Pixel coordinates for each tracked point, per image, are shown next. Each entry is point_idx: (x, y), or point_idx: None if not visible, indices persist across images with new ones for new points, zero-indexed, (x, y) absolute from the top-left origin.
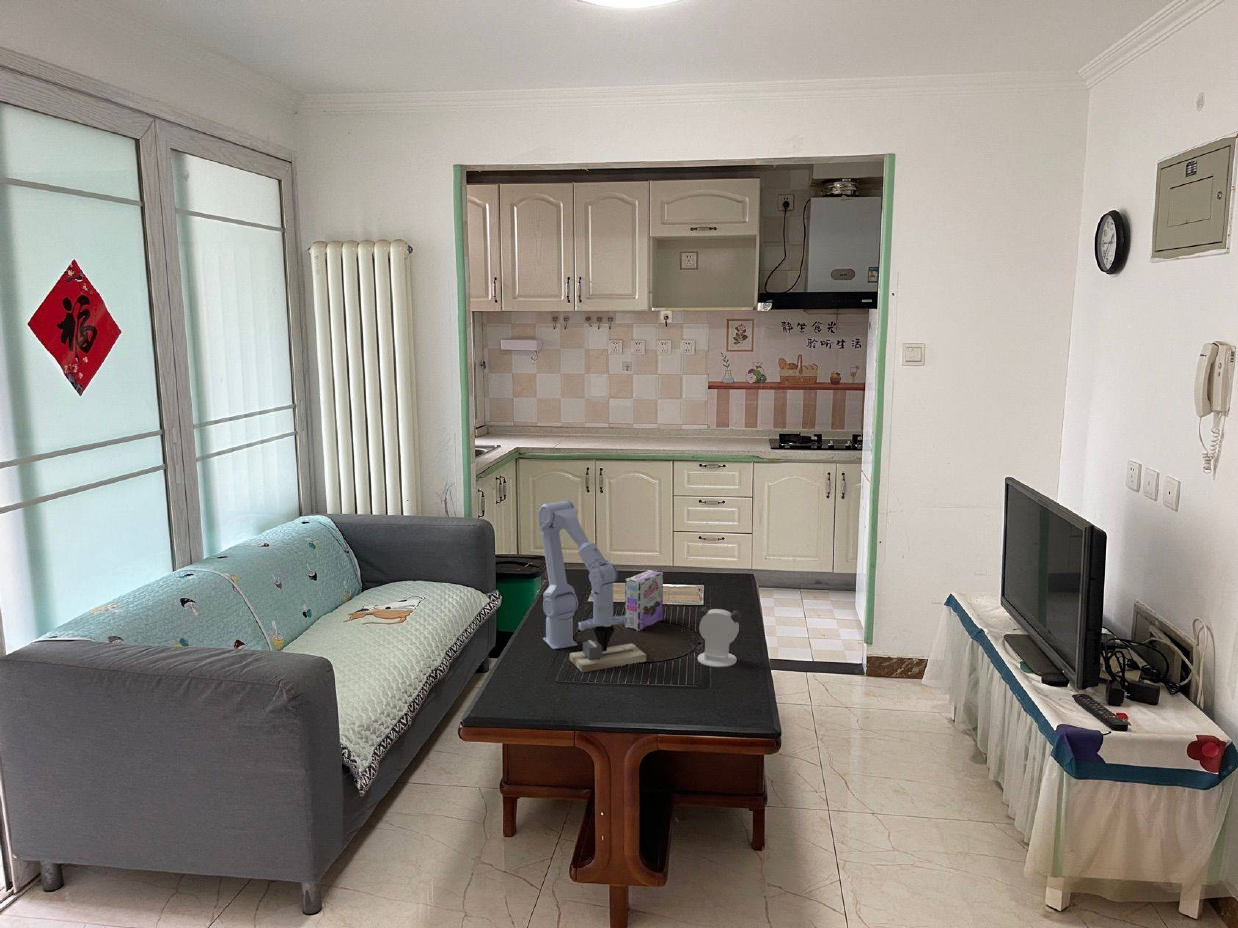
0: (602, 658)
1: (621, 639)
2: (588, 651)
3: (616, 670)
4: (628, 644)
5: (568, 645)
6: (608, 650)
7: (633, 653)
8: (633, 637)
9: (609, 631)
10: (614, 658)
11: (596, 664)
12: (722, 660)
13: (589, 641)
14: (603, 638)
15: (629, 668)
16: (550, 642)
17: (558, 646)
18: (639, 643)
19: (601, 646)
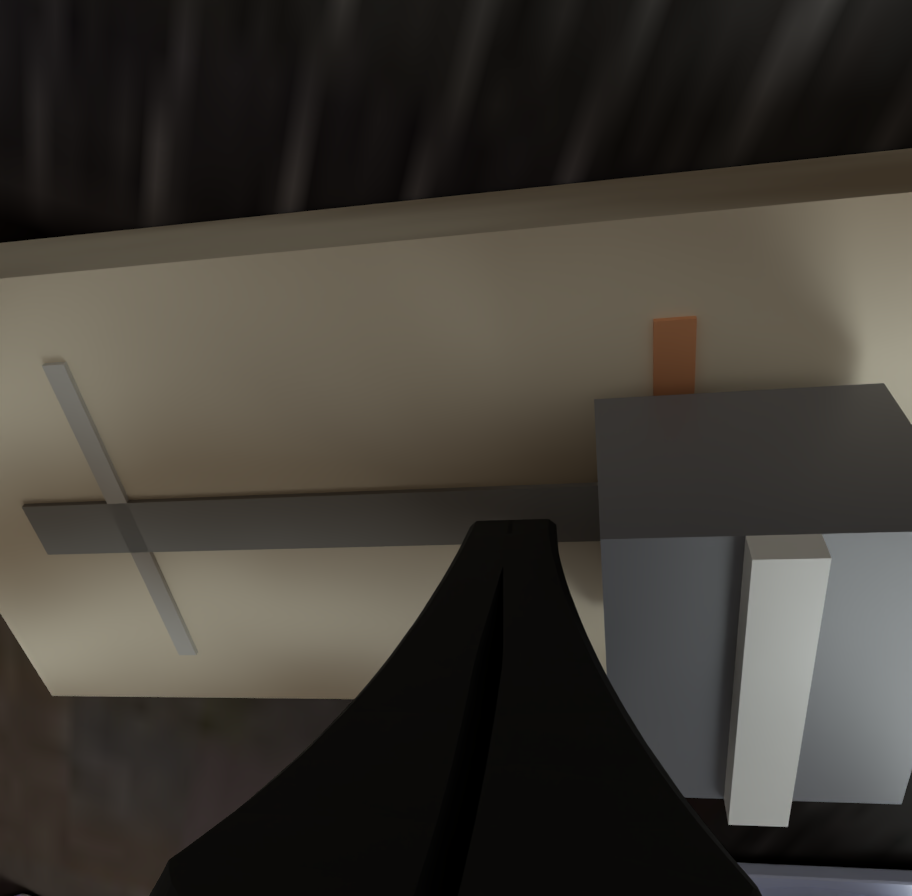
0: (589, 382)
1: (188, 828)
2: None
3: (420, 13)
4: (97, 680)
5: (770, 880)
6: (395, 614)
7: (26, 412)
8: (73, 825)
9: (325, 888)
10: (374, 315)
11: (799, 189)
12: None
13: (793, 780)
14: (542, 720)
15: (165, 39)
16: None
17: (887, 894)
18: (12, 720)
19: (624, 533)
